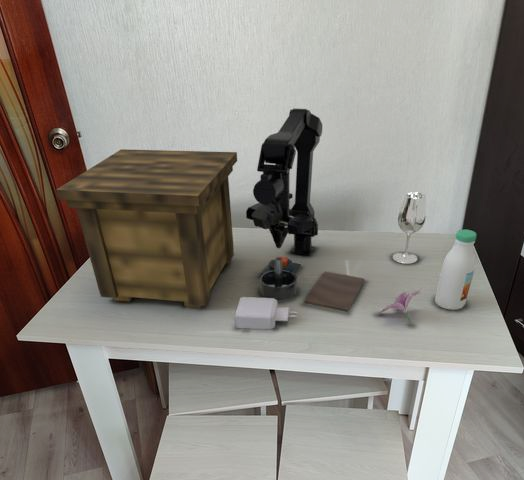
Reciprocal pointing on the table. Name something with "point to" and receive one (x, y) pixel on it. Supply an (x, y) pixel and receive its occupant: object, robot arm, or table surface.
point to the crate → (156, 222)
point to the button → (284, 261)
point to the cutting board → (335, 291)
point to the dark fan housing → (278, 292)
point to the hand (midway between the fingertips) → (278, 247)
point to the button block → (290, 267)
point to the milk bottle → (457, 272)
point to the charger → (260, 313)
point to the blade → (278, 272)
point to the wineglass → (411, 222)
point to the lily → (401, 302)
